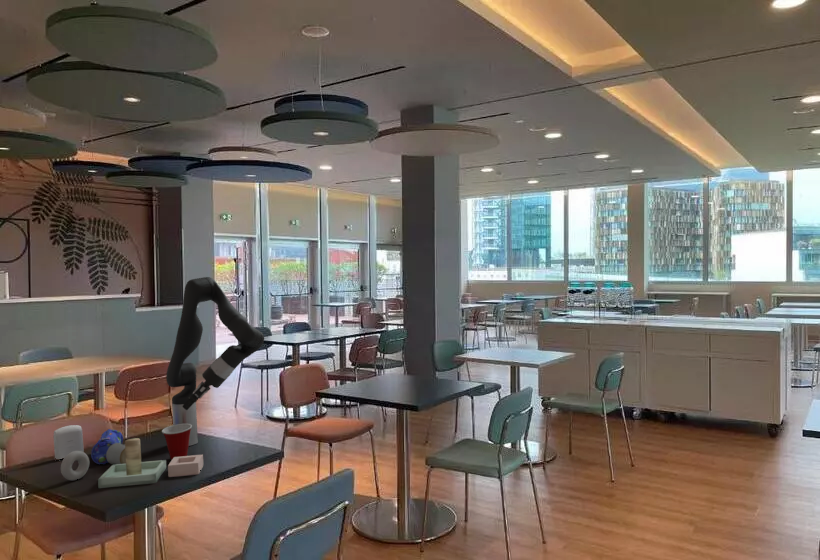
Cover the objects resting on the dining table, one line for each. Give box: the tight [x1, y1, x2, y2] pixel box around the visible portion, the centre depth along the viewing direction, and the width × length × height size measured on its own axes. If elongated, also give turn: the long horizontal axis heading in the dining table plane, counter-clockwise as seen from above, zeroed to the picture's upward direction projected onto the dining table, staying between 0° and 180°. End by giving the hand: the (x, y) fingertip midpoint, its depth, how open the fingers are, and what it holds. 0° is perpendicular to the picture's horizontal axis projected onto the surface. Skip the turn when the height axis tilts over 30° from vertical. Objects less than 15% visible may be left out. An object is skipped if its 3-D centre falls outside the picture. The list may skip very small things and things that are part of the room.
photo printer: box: [53, 424, 85, 459], centre depth 240 cm, size 10×4×12 cm, turn 137°
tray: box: [97, 459, 167, 489], centre depth 211 cm, size 16×18×3 cm
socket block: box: [167, 454, 204, 478], centre depth 216 cm, size 10×10×4 cm
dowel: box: [124, 437, 142, 476], centre depth 211 cm, size 5×5×12 cm
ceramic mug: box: [106, 443, 126, 465], centre depth 229 cm, size 11×8×8 cm
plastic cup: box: [161, 424, 192, 461], centre depth 232 cm, size 11×11×12 cm
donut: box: [60, 451, 90, 481], centre depth 212 cm, size 10×4×10 cm, turn 154°
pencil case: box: [90, 428, 124, 465], centre depth 238 cm, size 22×9×10 cm, turn 18°
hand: (186, 405), depth 217 cm, fingers open, 8 cm apart
